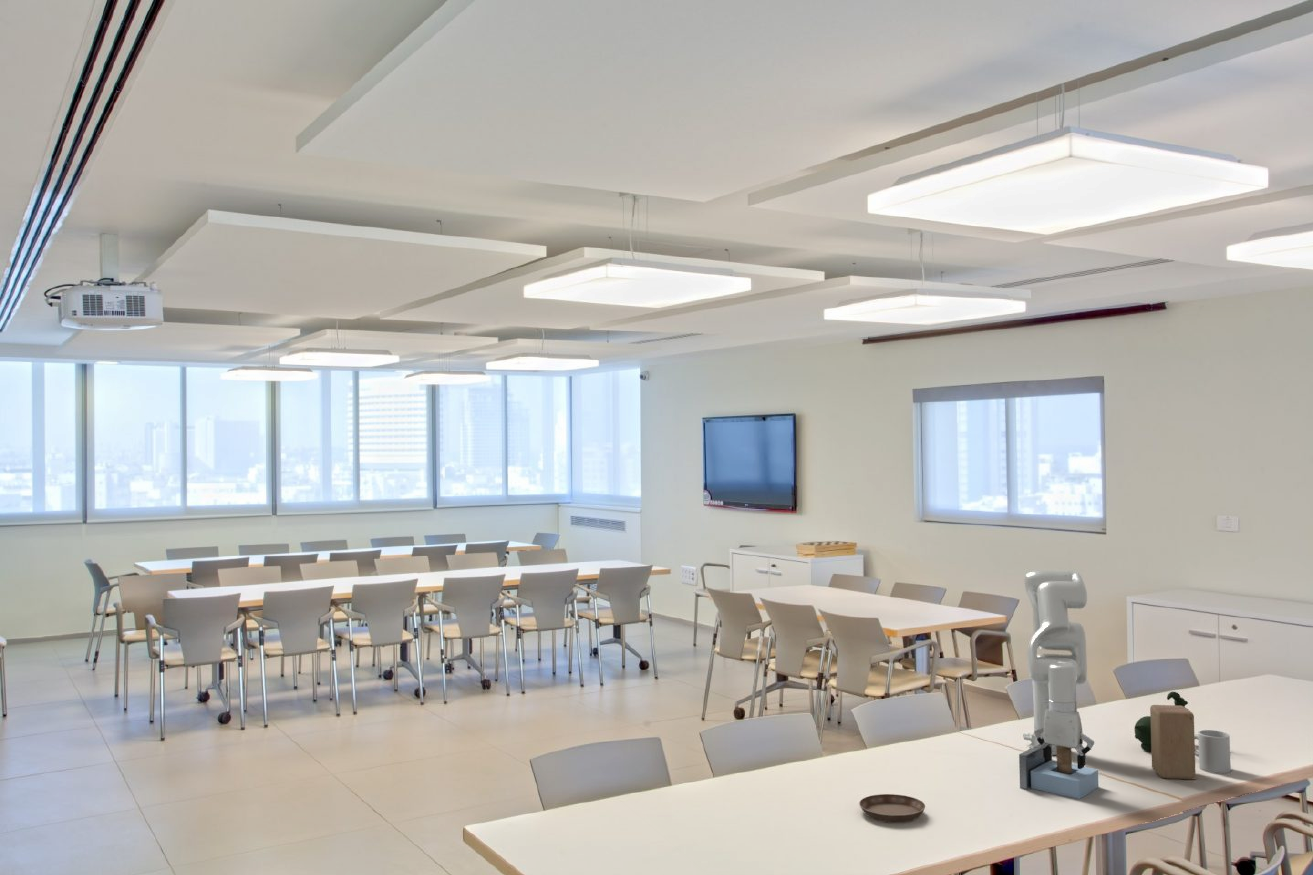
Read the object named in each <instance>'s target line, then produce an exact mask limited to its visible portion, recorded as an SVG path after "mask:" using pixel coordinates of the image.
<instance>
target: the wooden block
mask: <svg viewBox="0 0 1313 875" xmlns="http://www.w3.org/2000/svg"><path fill="white" fill-rule="evenodd" d="M1149 709H1150V714H1149V716H1150V717H1151V752H1150V753H1151V767H1152V769H1153V771H1154V772H1155V773H1156V774H1157V775H1158V776H1159V777H1160V778H1162V779H1173V780H1174V779H1175V780H1176V779H1177V780H1195V779H1196V776H1197V775H1196V756H1195V750H1196V746H1195V745H1196V743H1195V742H1196V739H1195V736H1194V734H1195V715H1194V713H1193V712H1192V711H1191V710H1189V709H1188V708H1187V707H1186V706H1185V707H1184V706H1176V705H1175V704H1173V705H1172V704H1171V705H1170V704H1168V705H1167V704H1166V705H1165V704H1152V705H1150V707H1149Z"/></svg>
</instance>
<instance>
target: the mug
mask: <svg viewBox="0 0 1313 875" xmlns="http://www.w3.org/2000/svg"><path fill="white" fill-rule="evenodd" d="M1194 736H1195V740H1197V741H1198V751H1197V750H1196V749H1195V757H1197V758H1198V767H1199V769H1200V770H1202V771H1204V772H1206V773H1212V774H1220V775H1221V774H1222V775H1223V774H1229V773H1230V772H1231V771H1232V770H1231V768H1232V766H1231V741H1230V740H1231V738H1230V737H1231V736H1230V734H1228V733H1227V732H1224V731H1220V730H1213V729H1204V730H1203V729H1202V730H1200V731H1198V734H1196V733H1194Z"/></svg>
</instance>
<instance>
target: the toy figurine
mask: <svg viewBox="0 0 1313 875" xmlns="http://www.w3.org/2000/svg"><path fill="white" fill-rule="evenodd" d="M1166 699H1167V700H1168V701H1169V700H1171V699H1173V700H1174V702H1173V705H1176V706H1184V707H1185V708H1186V705H1188V704H1189V702H1188V701H1187V700H1185V699H1184V698H1183V697H1181V695H1180V693H1178V692H1176V691H1169V693H1168V694H1167V697H1166ZM1134 738H1135V739H1136V740H1138V741H1139V742H1140V747H1141V749H1142V750H1143V751H1145V752H1148V753H1151V717H1150V715H1147V716H1143V717H1140V718H1139V719H1138V720H1137V721H1136V722H1135V725H1134Z"/></svg>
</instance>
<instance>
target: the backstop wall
mask: <svg viewBox="0 0 1313 875" xmlns="http://www.w3.org/2000/svg"><path fill="white" fill-rule="evenodd" d="M1049 747H1051V760H1053V755H1052V745H1051V744H1050V745H1049ZM1018 758H1019V760H1018V761H1019V762H1018V764H1019V765H1018V766H1019V768H1018V769H1019V789H1021V790H1022V789H1023V790H1028V789H1030V788H1031V771H1032V770H1033V769H1035V768H1037V767H1039V766H1041V765H1043V764H1045V763H1046V762H1045V758H1044V757H1043V748H1042V747H1041V744H1039V745H1037V746H1035V747H1033V748H1031V749H1030V748H1029V749H1028V750H1025V751H1022V752H1021V753H1019V754H1018Z"/></svg>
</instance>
